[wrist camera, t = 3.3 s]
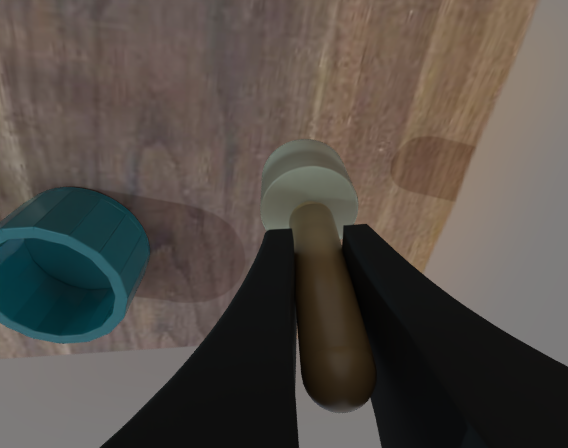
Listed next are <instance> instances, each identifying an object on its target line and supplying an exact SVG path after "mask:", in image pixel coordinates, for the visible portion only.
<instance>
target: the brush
mask: <svg viewBox="0 0 568 448" xmlns="http://www.w3.org/2000/svg"><path fill="white" fill-rule="evenodd" d="M260 212H261V219H262V222H263V225H264V227H265V229H266V230H267V231H268V230H270V229H287V228H292V232H293V239H294V258H295V304H296V316H297V328H298V340H299V351H300V352H299V353H300V365H301V375H302V380H303V384H304V387H305V389H306V391H307V393H308V395H309V396H310V397H311V398H312V400H313V401H314V402H315V403H317V404H318V405H319V406H320V407H322V408H324V409H326V410H328V411H331V412H335V413H346V412H351V411H354V410H357V409H358V408H360V407H361V406H363V405H364V404H365V403H366V402H367V401H368V399H369V398H370V397H371V395H372V393H373V392H374V388H375V385H376V381H377V369H376V364H375V360H374V356H373V353H372V349H371V346H370V342H369V339H368V336H367V332H366V329H365V325H364V322H363V318H362V315H361V311H360V308H359V304H358V301H357V297H356V294H355V290H354V287H353V283H352V280H351V277H350V274H349V270H348V267H347V263H346V260H345V256H344V253H343V249H342V245H341V241H340V239H342V238H343V225H353V224H354V222H355V220H356V217H357V213H358V198H357V194H356V191H355V189H354V187H353V185H352V182H351V180H350V178H349V175H348V173H347V171H346V168H345V166H344V164H343V162H342V160H341V158H340V156H339V155H338V153H337V152H336V151H335V150H334V149H332V148H331V147H330V146H328V145H327V144H325V143H323V142H320V141H317V140H311V139H300V140H294V141H291V142H288V143H286V144H284V145H282V146H280V147H279V148H278V149H276V150H275V151H274V152H273V153H272V154H271V155H270V157H269V158H268V160H267V161H266V163H265V166H264V168H263V172H262V186H261V207H260Z"/></svg>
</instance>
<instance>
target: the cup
mask: <svg viewBox="0 0 568 448" xmlns="http://www.w3.org/2000/svg"><path fill="white" fill-rule="evenodd" d="M149 256H150V246H149V241H148V238H147V235H146V233H145V231H144V229H143V227H142V225H141V224H140V222H139V221H138V220H137V218H136V217H135V216H134V215H133V214H132V213H131V212H130V211H129V210H128V209H127V208H125V207H124V206H123V205H121V204H120V203H119V202H117V201H115V200H114V199H112V198H110V197H108V196H106V195H104V194H101V193H99V192H96V191H93V190H88V189H84V188H77V187H60V188H54V189H50V190H46V191H44V192H41V193H39V194H37V195H36V196H34V197H33V198H31V199H30V200H28V201H27V202H25V203H23V204H22V205H21V206H19V207H18V208H17V209H16V210H14V211H13V212H12V213H11V214H9V215H8V216H7V217H6V218H4V219H3V220H2V221H1V222H0V323H1V324H3V325H5V326H6V327H8V328H10V329H13V330H15V331H17V332H19V333H22V334H24V335H26V336H28V337H30V338H34V339H39V340H44V341H49V342H55V343H62V344H65V343H80V342H89V341H92V340H94V339H97V338H99V337H102V336H104V335H107V334H109V333H110V332H112V330H113V329H114V328H115V327H116V326H117V325H118V324H119V323H120V322H121V321H122V320H123V318H124V317H125V315H126V313H127V311H128V308H129V306H130V304H131V302H132V300H133V298H134V296H135V293H136V291H137V289H138V287H139V285H140V283H141V280H142V278H143V276H144V274H145V271H146V267H147V265H148V262H149Z"/></svg>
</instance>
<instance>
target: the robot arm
mask: <svg viewBox="0 0 568 448" xmlns="http://www.w3.org/2000/svg"><path fill="white" fill-rule="evenodd" d="M342 249H343V253H344V256H345V260H346V263H347V267H348V270H349V274H350V277H351V280H352V283H353V287H354V290H355V294H356V297H357V301H358V304H359V308H360V311H361V315H362V318H363V322H364V325H365V329H366V332H367V336H368V339H369V342H370V346H371V349H372V353H373V356H374V360H375V364H376V369H377V381H376V385H375V388H374V392H373V393H372V395H371V397H370V398H371V402H372V406H373V409H374V413H375V417H376V422H377V427H378V431H379V436H380V441H381V446H382V448H568V367H567V366H565V365H564V364H562V363H560V362H558V361H556V360H554V359H552V358H550V357H548V356H547V355H545V354H543V353H541V352H540V351H538V350H536V349H534V348H532V347H531V346H529V345H527V344H525V343H523V342H522V341H520V340H518V339H516V338H515V337H513V336H511V335H510V334H508V333H506V332H504V331H503V330H501V329H500V328H498V327H496V326H495V325H493V324H492V323H490V322H489V321H487V320H486V319H484V318H482V317H481V316H479V315H478V314H476V313H475V312H473V311H472V310H470V309H469V308H467V307H466V306H464V305H463V304H461V303H460V302H459V301H457V300H456V299H454V298H453V297H452V296H450V295H449V294H448V293H446V292H445V291H444V290H442V289H441V288H440V287H438V286H437V285H436V284H434V283H433V282H432V281H430V280H429V279H428V278H427V277H425V276H424V275H423V274H422V273H421V272H419V271H418V270H417V269H416V268H415V267H413V266H412V265H411V264H410V263H409V262H408V261H406V260H405V259H404V258H403V257H402V256H401V255H400V254H399V253H397V252H396V251H395V250H394V249H393V248H392V247H391V246H390V245H389V244H388V243H387V242H386V241H384V240H383V239H382V238H381V237H380V236H379V235H378V234H377V233H376V232H375V231H374V230H373V229H372V228H371V227H369V226H368V225H367V224H358V225H343V242H342ZM296 336H297V316H296V304H295V258H294V239H293V232H292V228H287V229H270V230H268V231H267V232H266V233H265V235H264V239H263V242H262V244H261V247H260V249H259V252H258V254H257V256H256V258H255V261H254V263H253V265H252V267H251V268H250V270H249V272H248V274H247V276H246V278H245V280H244V282H243V283H242V285H241V287H240V288H239V290H238V292H237V293H236V295H235V297H234V298H233V300H232V301H231V303H230V305H229V306H228V308H227V309H226V311H225V312H224V314H223V315H222V317H221V318H220V319H219V321H218V322H217V324H216V325H215V326H214V328H213V329H212V330H211V332H210V333H209V334H208V335H207V337H206V338H205V339H204V341H203V342H202V343H201V344H200V346H199V347H198V348H197V349H196V350H195V351H194V353H193V354H192V355H191V357H189V359H188V360H187V361H186V362H185V363H184V365H183V366H182V367H181V368H180V369H179V370H178V371H177V372H176V374H175V375H174V376H173V377H172V378H171V379H170V380H169V381H168V382H167V383H166V384H165V385H164V386H163V387H162V388H161V389H160V390H159V391H158V392H157V393H156V394H155V395H154V396H153V397H152V398H151V399H150V400H149V401H148V402H147V404H145V405H144V406H143V407H142V408H141V410H139V412H137V414H136V415H135V416H134V417H132V419H130V421H128V422H127V423H126V424H125V425H124V426H123V427H122V428H121V429H120V430H119V431H118V432H117V433H115V434H114V435H113V436H112V437H111V438H110V439H109V440H108V441H107V442H105V443H104V444H103V445H102V446H101V447H100V448H299V442H298V429H297V414H296V399H295V374H296Z"/></svg>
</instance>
